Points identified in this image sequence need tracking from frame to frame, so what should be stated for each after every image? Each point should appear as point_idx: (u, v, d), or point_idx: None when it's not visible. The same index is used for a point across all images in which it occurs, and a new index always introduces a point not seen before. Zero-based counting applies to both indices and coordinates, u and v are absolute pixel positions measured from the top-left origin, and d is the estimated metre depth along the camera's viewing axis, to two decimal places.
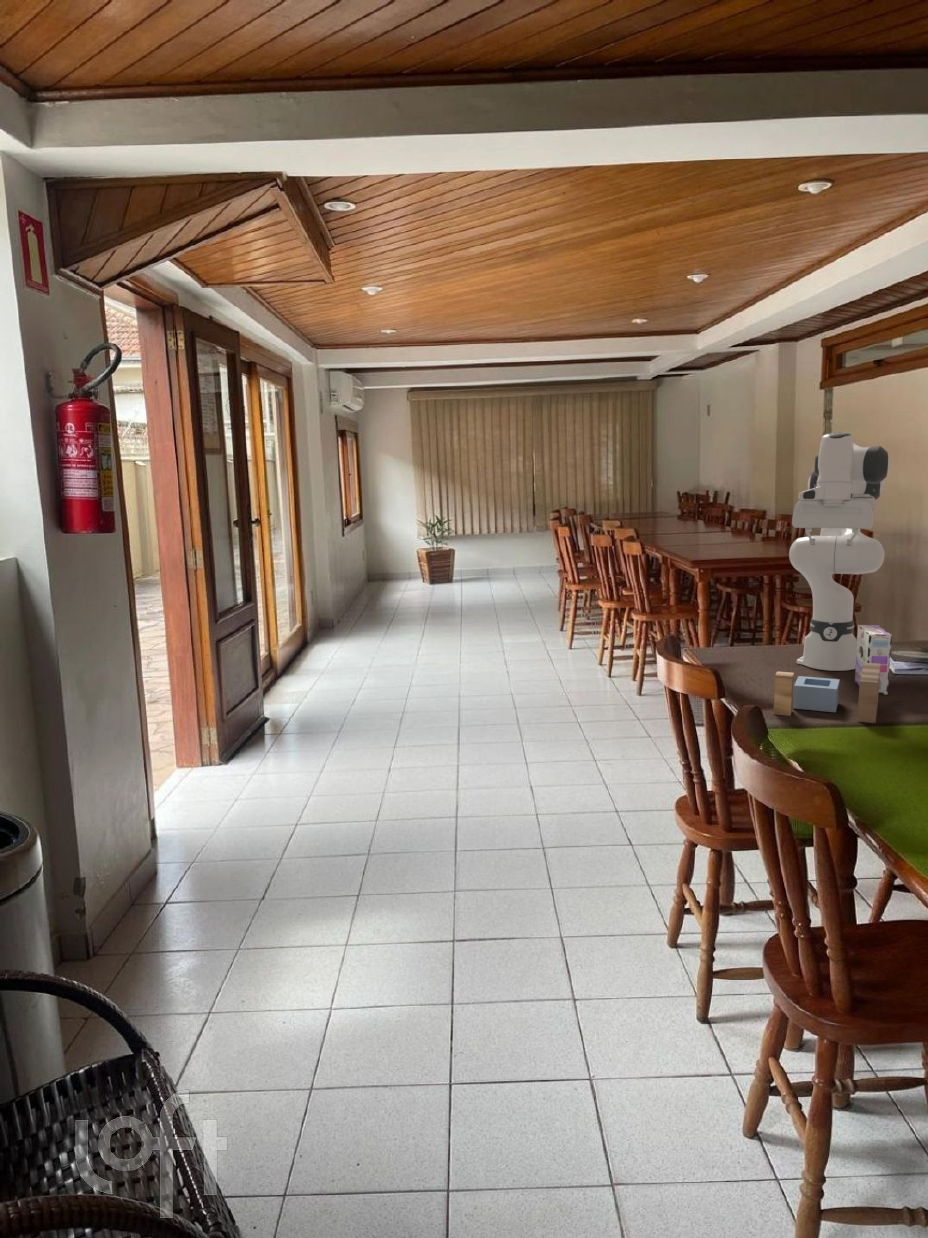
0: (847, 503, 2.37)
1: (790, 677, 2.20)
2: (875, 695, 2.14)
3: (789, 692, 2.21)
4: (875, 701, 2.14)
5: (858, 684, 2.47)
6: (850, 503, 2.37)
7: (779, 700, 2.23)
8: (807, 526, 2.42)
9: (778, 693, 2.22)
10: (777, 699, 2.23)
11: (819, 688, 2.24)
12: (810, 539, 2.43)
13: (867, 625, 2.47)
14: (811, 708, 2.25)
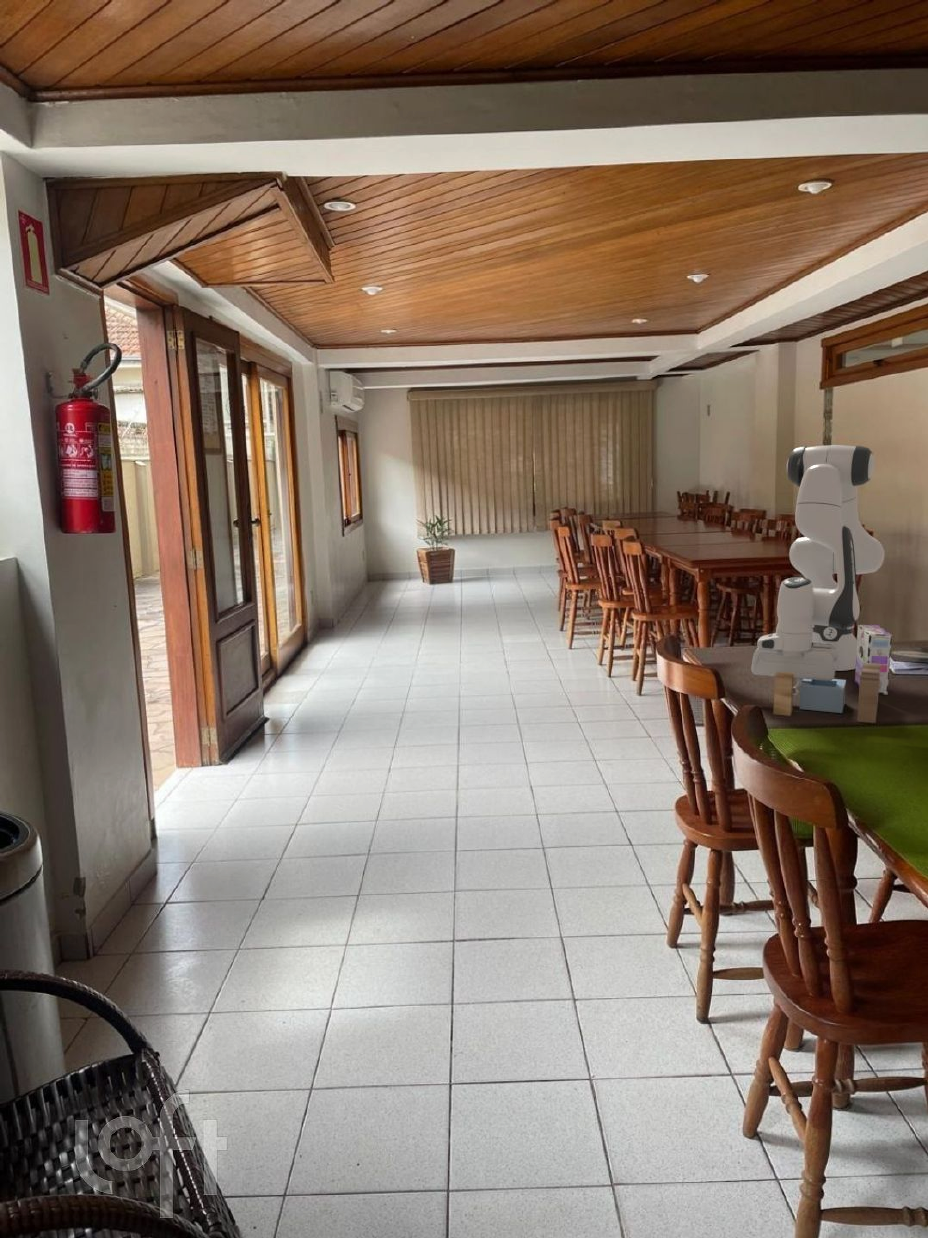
0: (807, 654, 2.27)
1: (790, 677, 2.20)
2: (875, 695, 2.14)
3: (789, 692, 2.21)
4: (875, 701, 2.14)
5: (858, 684, 2.47)
6: (810, 654, 2.26)
7: (779, 700, 2.23)
8: (766, 674, 2.32)
9: (778, 693, 2.22)
10: (777, 699, 2.23)
11: (825, 689, 2.23)
12: None
13: (867, 625, 2.47)
14: (817, 709, 2.25)
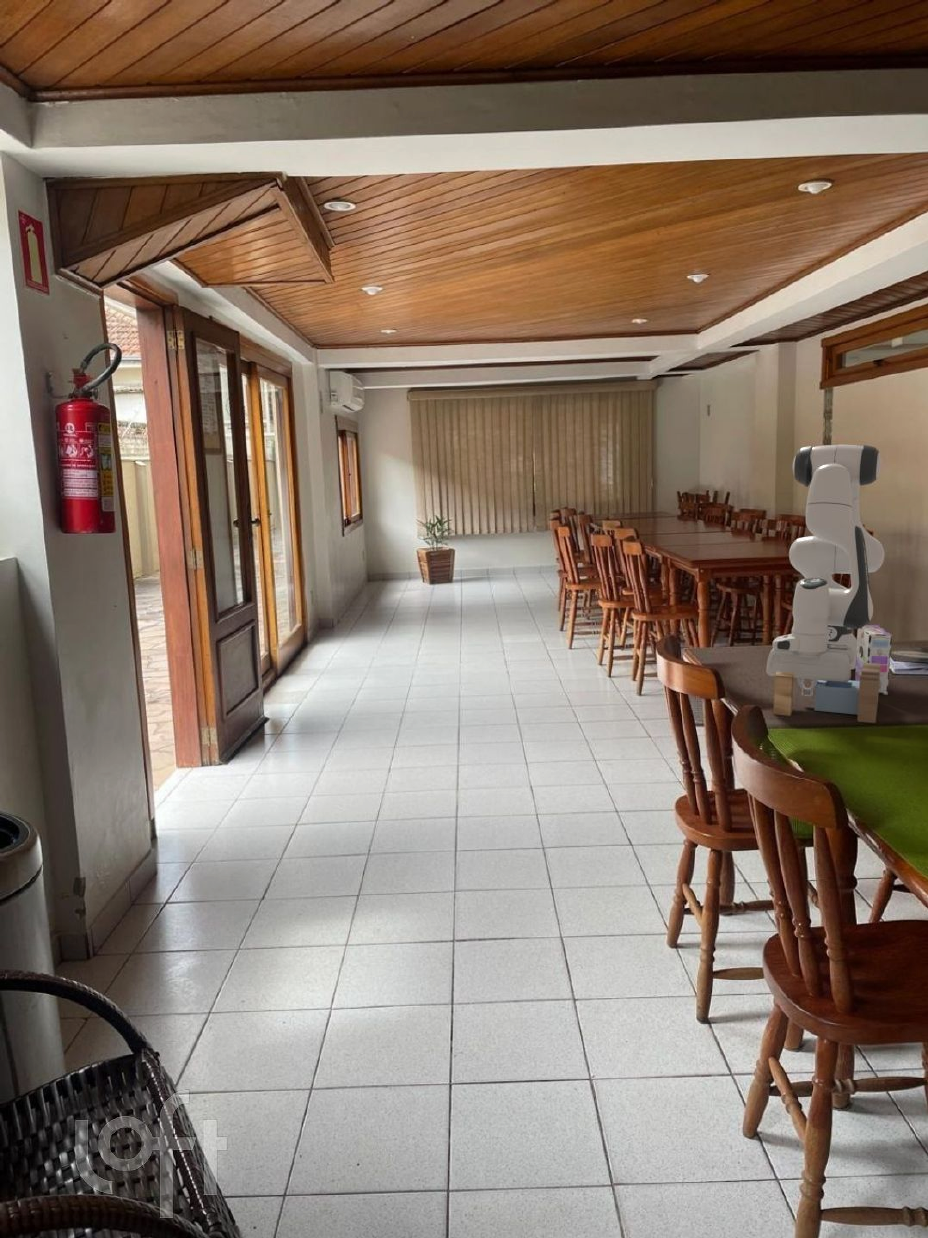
0: (823, 655, 2.25)
1: (790, 677, 2.20)
2: (875, 695, 2.14)
3: (789, 692, 2.21)
4: (875, 701, 2.14)
5: None
6: (826, 656, 2.25)
7: (779, 700, 2.23)
8: None
9: (778, 693, 2.22)
10: (777, 699, 2.23)
11: (841, 690, 2.22)
12: (803, 690, 2.30)
13: (867, 625, 2.47)
14: (833, 710, 2.23)
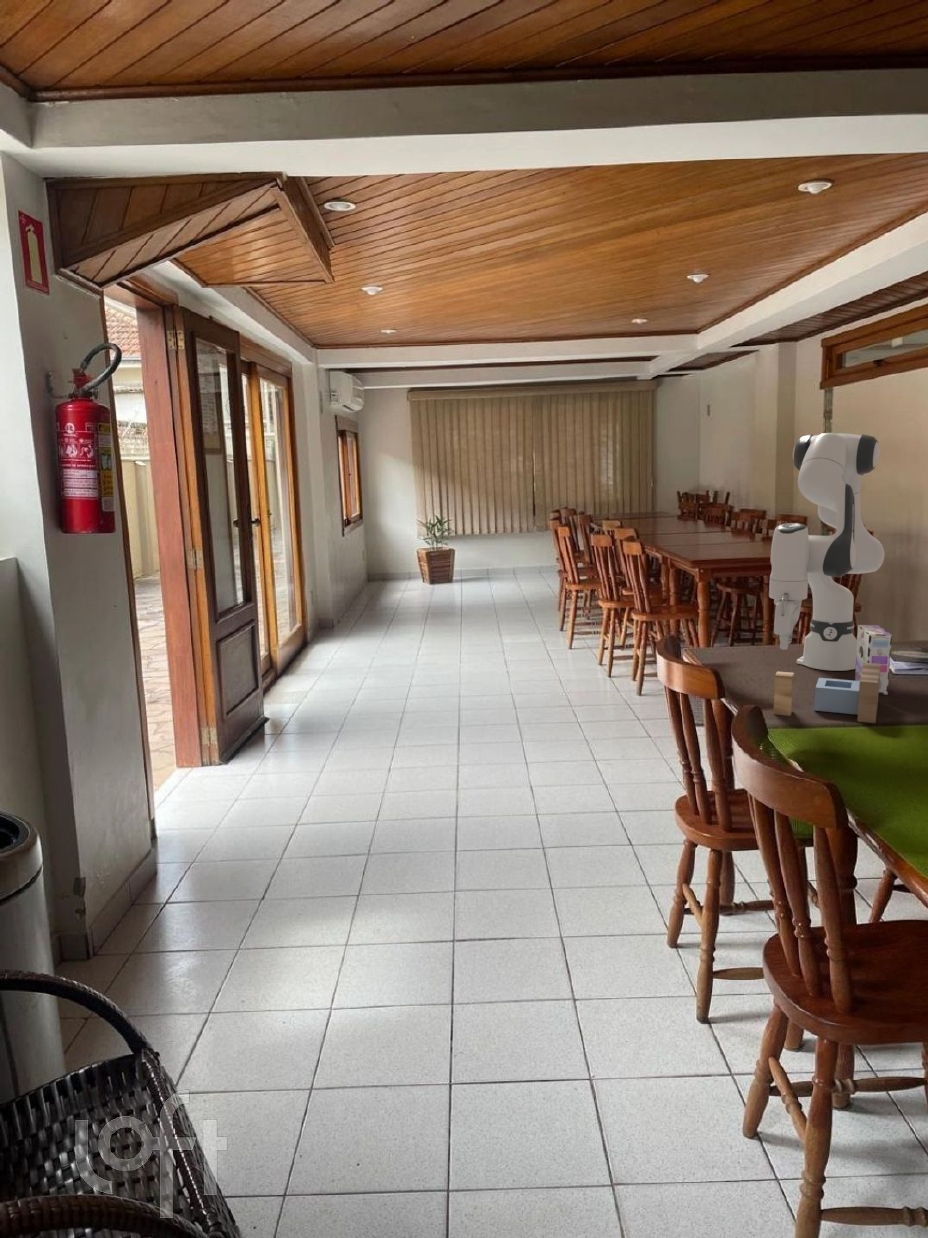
0: None
1: (790, 677, 2.20)
2: (875, 695, 2.14)
3: (789, 692, 2.21)
4: (875, 701, 2.14)
5: None
6: None
7: (779, 700, 2.23)
8: None
9: (778, 693, 2.22)
10: (777, 699, 2.23)
11: (841, 690, 2.22)
12: None
13: (867, 625, 2.47)
14: (832, 710, 2.23)
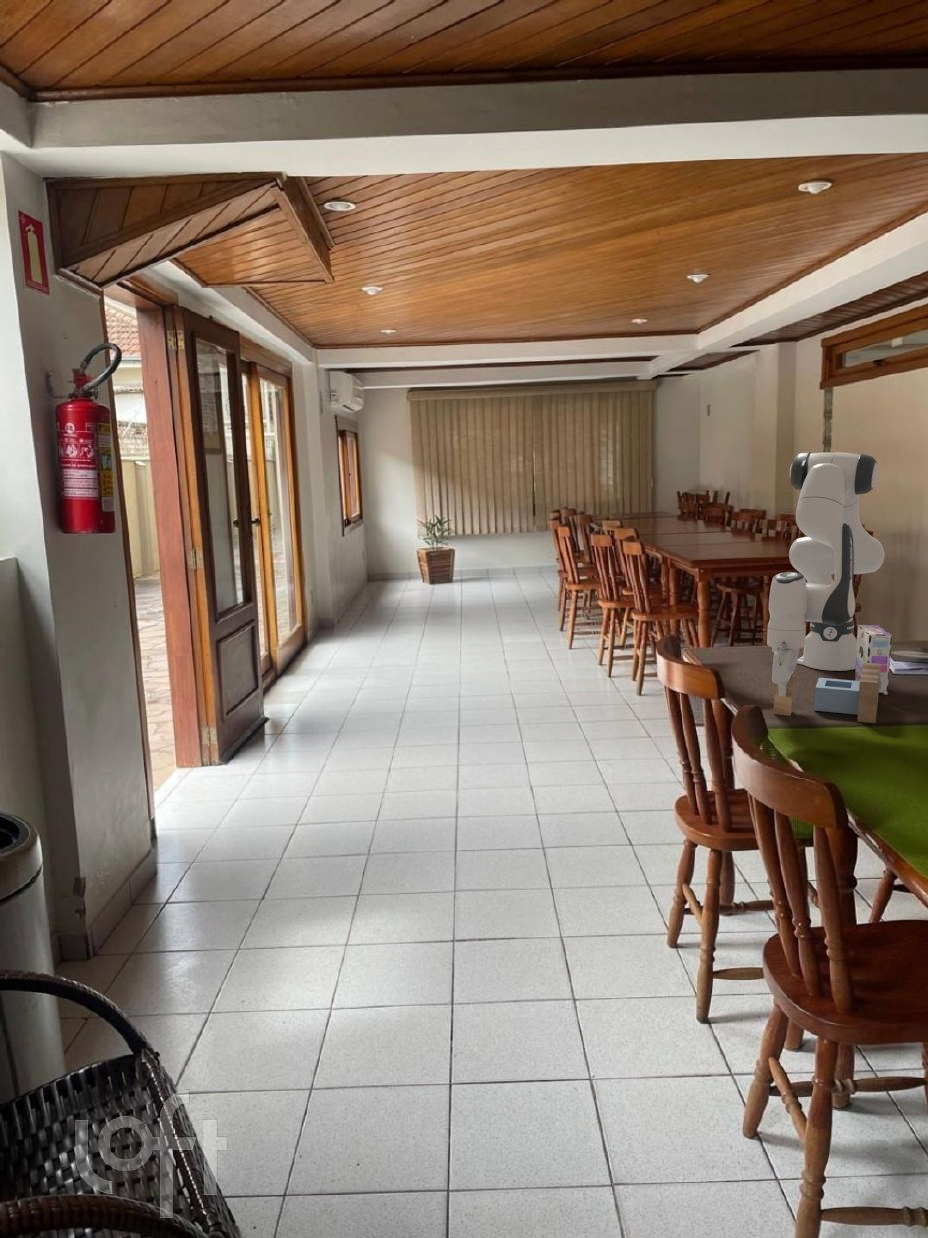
0: None
1: (790, 677, 2.21)
2: (875, 695, 2.14)
3: (789, 692, 2.21)
4: (875, 701, 2.14)
5: None
6: None
7: (779, 700, 2.23)
8: None
9: None
10: (777, 699, 2.23)
11: (841, 690, 2.22)
12: None
13: (867, 625, 2.47)
14: (832, 710, 2.23)
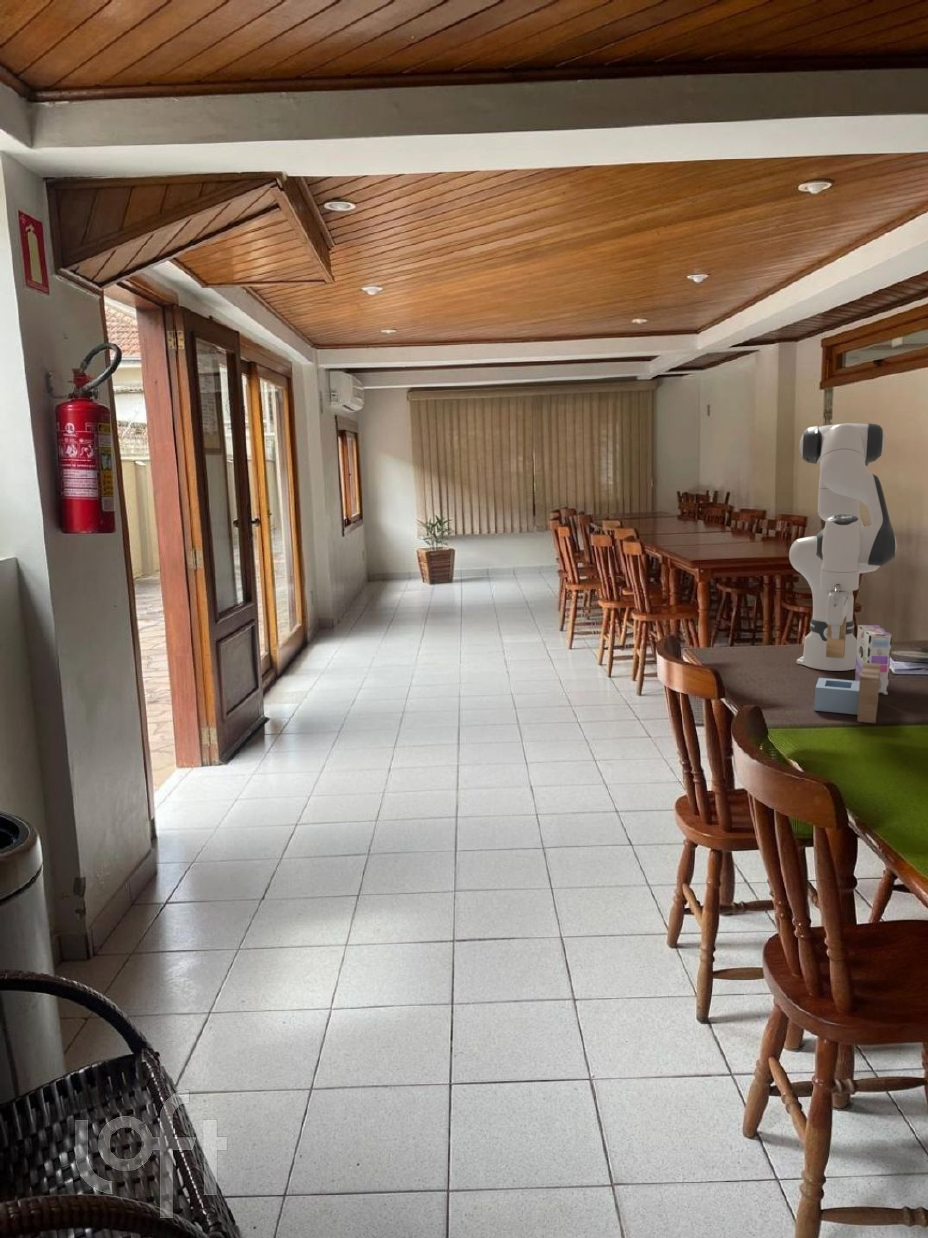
0: None
1: None
2: (875, 695, 2.14)
3: (842, 635, 2.21)
4: (875, 701, 2.14)
5: None
6: None
7: (831, 643, 2.23)
8: None
9: None
10: (830, 642, 2.23)
11: (841, 690, 2.22)
12: None
13: (867, 625, 2.47)
14: (832, 710, 2.23)
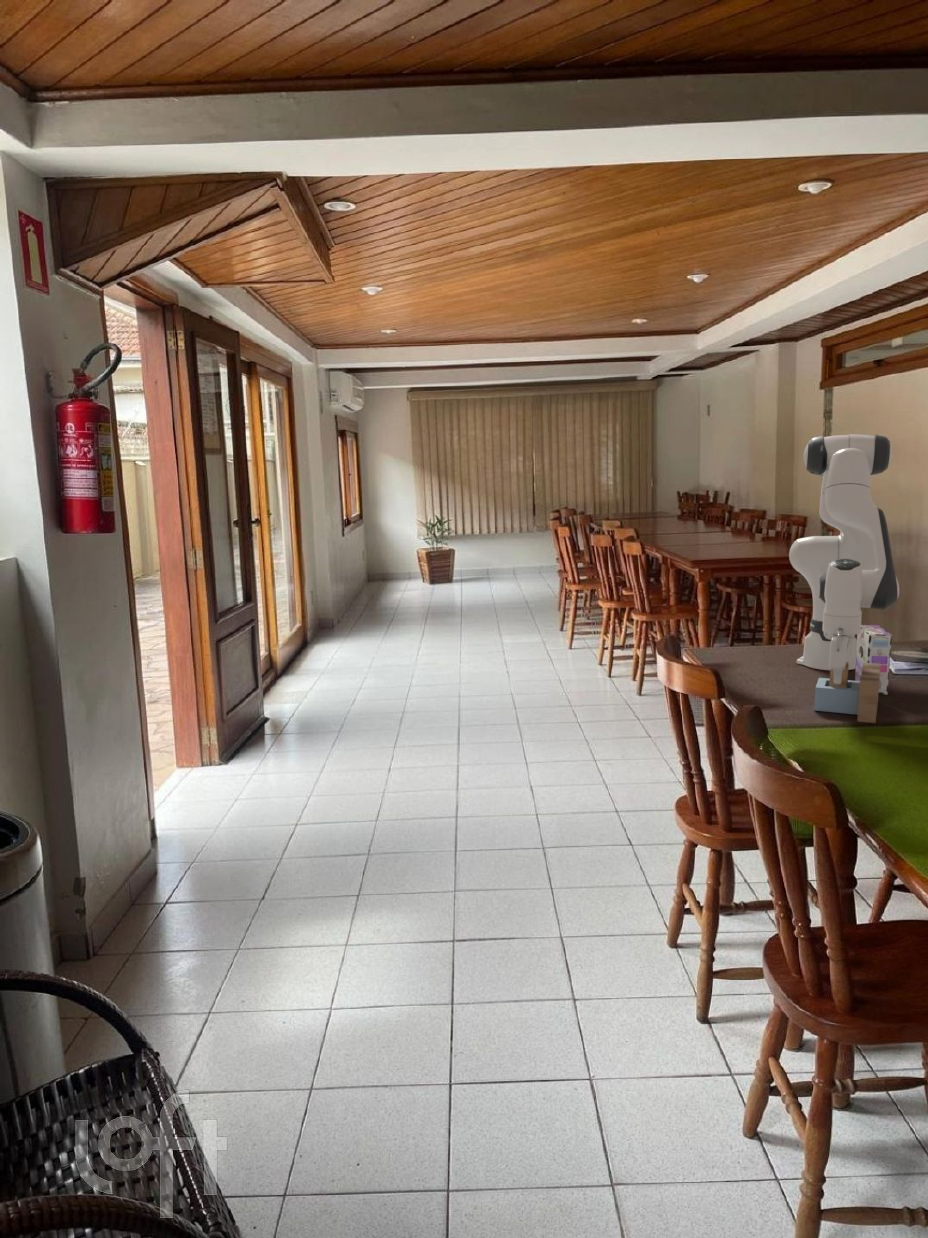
0: None
1: (846, 666, 2.23)
2: (875, 695, 2.14)
3: (844, 681, 2.24)
4: (875, 701, 2.14)
5: None
6: None
7: None
8: None
9: (833, 682, 2.25)
10: None
11: (841, 690, 2.22)
12: None
13: (867, 625, 2.47)
14: (832, 710, 2.23)
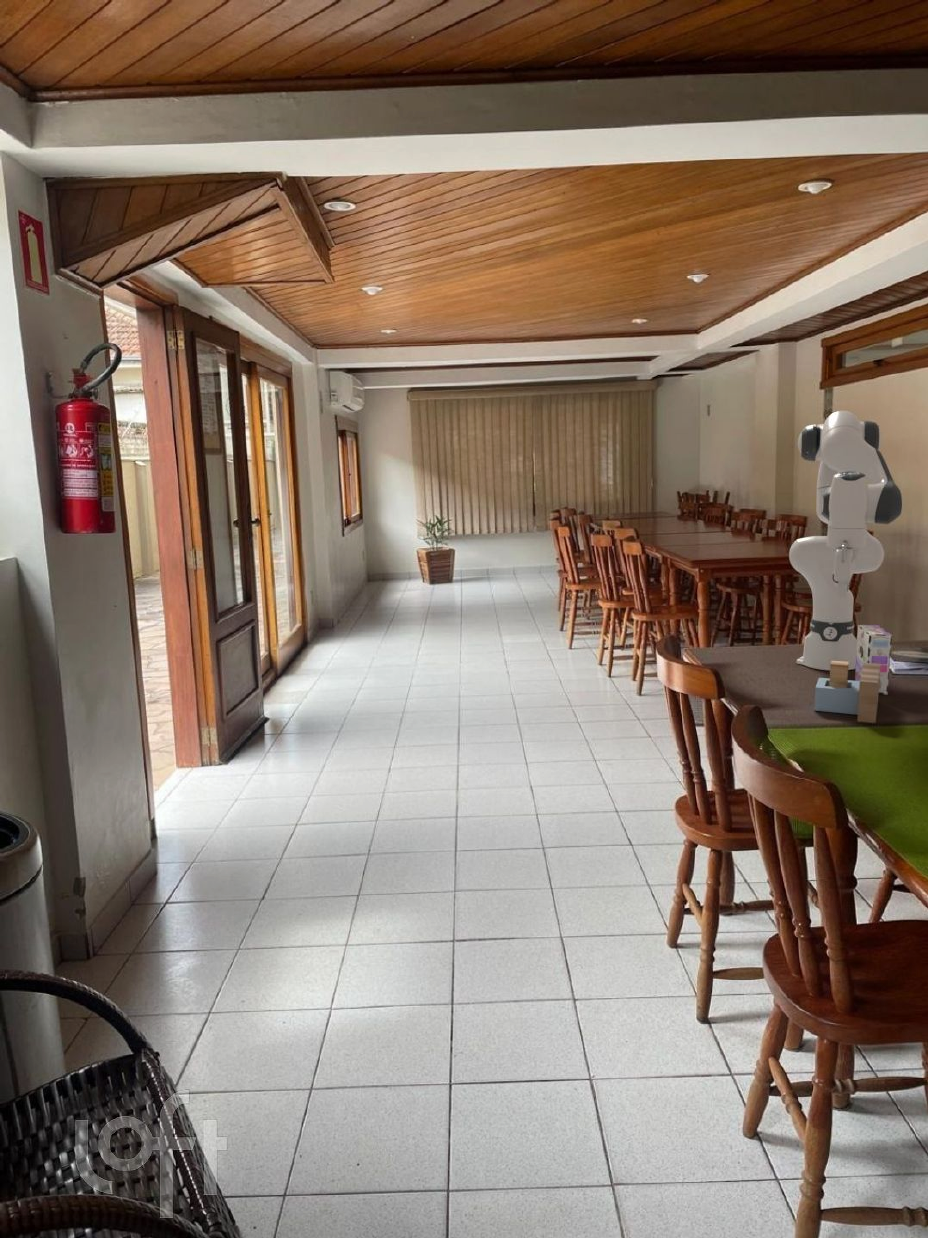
0: None
1: (846, 666, 2.23)
2: (875, 695, 2.14)
3: (844, 681, 2.24)
4: (875, 701, 2.14)
5: None
6: None
7: None
8: None
9: (833, 682, 2.25)
10: None
11: (841, 690, 2.22)
12: None
13: (867, 625, 2.47)
14: (832, 710, 2.23)
